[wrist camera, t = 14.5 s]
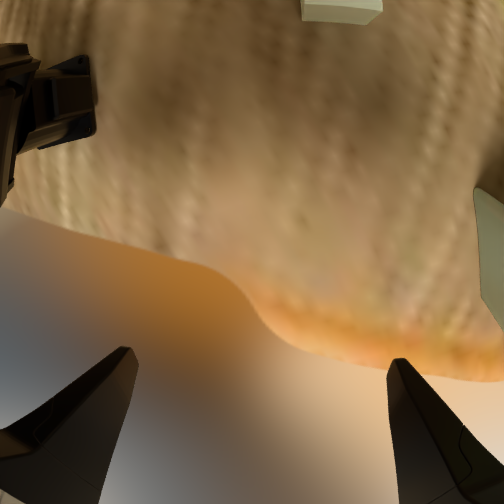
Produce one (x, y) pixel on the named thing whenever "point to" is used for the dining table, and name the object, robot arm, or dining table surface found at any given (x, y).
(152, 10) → the dining table surface
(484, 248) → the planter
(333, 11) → the sage block
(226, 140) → the dining table surface
